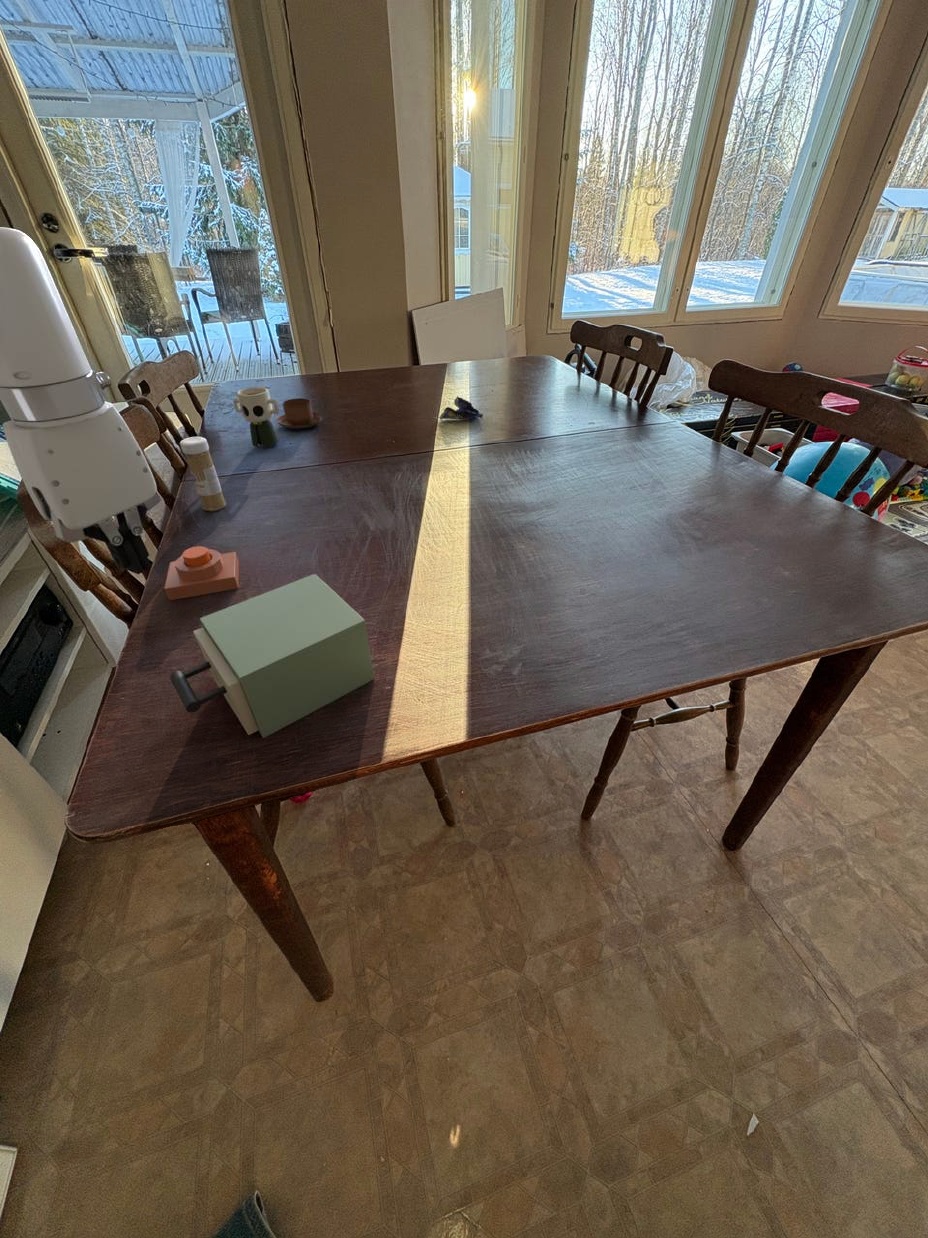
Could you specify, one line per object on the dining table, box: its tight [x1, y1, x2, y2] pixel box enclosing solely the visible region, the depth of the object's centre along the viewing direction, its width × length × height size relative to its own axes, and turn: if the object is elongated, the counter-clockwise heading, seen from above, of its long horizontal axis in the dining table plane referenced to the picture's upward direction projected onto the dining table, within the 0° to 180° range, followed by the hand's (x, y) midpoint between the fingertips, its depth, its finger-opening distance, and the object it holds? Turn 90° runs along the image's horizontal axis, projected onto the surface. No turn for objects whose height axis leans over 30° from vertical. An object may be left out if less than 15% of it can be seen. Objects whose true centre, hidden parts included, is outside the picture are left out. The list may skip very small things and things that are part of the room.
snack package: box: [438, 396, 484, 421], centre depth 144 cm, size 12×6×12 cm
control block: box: [163, 548, 240, 601], centre depth 81 cm, size 10×8×4 cm
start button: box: [181, 545, 211, 567], centre depth 79 cm, size 4×4×2 cm
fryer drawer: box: [169, 626, 259, 736], centre depth 60 cm, size 18×11×8 cm, turn 129°
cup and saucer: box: [276, 397, 323, 430], centre depth 139 cm, size 12×12×6 cm
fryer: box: [199, 573, 375, 739], centre depth 62 cm, size 15×13×10 cm
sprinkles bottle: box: [179, 436, 227, 512], centre depth 98 cm, size 5×5×13 cm
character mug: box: [232, 386, 280, 448], centre depth 125 cm, size 11×7×13 cm, turn 85°
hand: (137, 567), depth 58 cm, fingers closed
